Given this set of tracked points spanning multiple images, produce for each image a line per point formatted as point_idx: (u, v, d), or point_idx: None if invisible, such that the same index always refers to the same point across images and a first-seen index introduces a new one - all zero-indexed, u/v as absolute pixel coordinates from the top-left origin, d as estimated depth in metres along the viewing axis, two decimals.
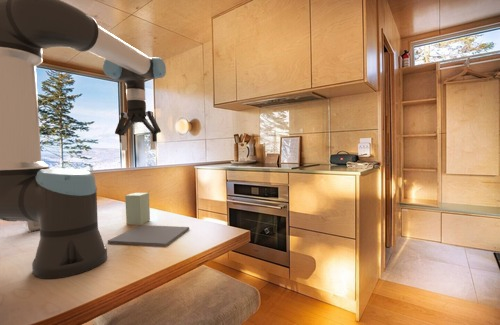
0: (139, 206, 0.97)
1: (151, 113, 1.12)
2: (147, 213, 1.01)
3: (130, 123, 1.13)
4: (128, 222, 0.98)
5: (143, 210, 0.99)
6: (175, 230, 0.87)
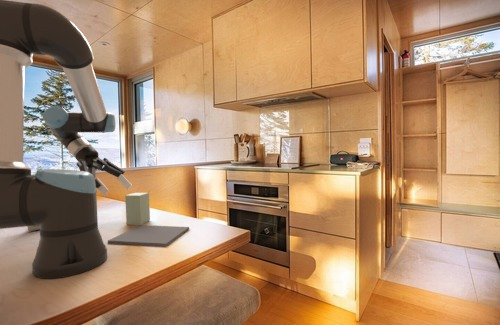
0: (139, 206, 0.97)
1: None
2: (147, 213, 1.01)
3: None
4: (128, 222, 0.98)
5: (143, 210, 0.99)
6: (175, 230, 0.87)
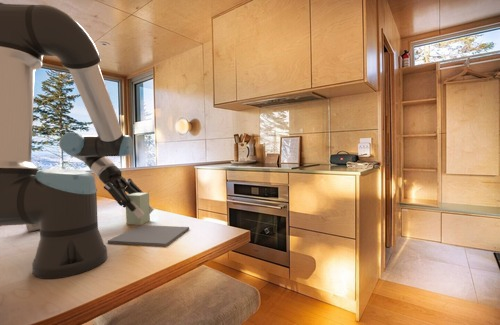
0: (139, 206, 0.97)
1: None
2: (147, 213, 1.01)
3: None
4: (128, 222, 0.98)
5: (143, 210, 0.99)
6: (175, 230, 0.87)
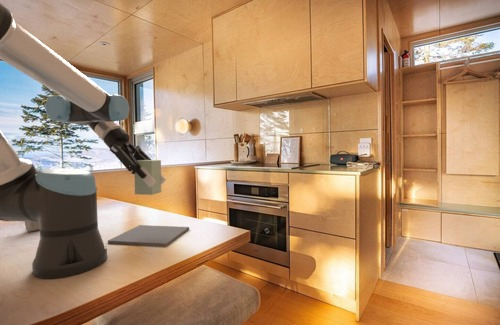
0: (150, 173, 0.84)
1: None
2: (158, 183, 0.88)
3: None
4: (137, 192, 0.85)
5: None
6: (175, 230, 0.87)
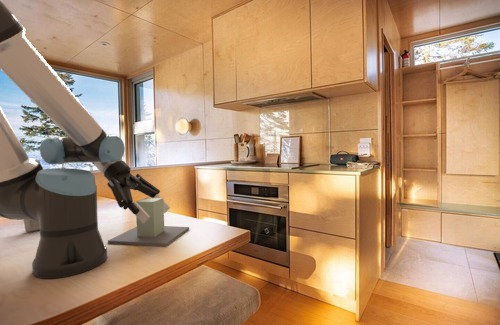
0: (152, 214, 0.81)
1: None
2: (161, 222, 0.85)
3: None
4: (139, 233, 0.82)
5: (157, 219, 0.82)
6: (175, 230, 0.87)
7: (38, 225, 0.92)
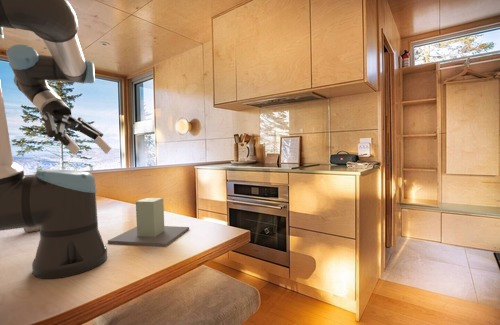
0: (152, 214, 0.81)
1: None
2: (161, 222, 0.85)
3: None
4: (139, 233, 0.82)
5: (157, 219, 0.82)
6: (175, 230, 0.87)
7: None
